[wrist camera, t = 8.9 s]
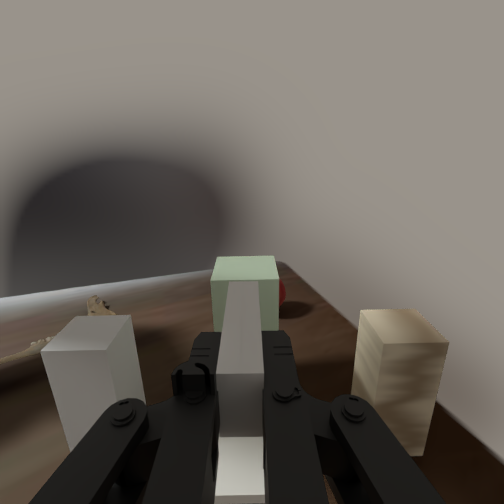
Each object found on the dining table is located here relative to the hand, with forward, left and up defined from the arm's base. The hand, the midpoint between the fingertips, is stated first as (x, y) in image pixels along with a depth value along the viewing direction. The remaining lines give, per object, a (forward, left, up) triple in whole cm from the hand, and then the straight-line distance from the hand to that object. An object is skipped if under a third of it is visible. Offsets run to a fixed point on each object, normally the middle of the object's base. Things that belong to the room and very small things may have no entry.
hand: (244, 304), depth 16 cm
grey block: (-13, -8, -18) cm, 24 cm away
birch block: (0, +15, -18) cm, 24 cm away
